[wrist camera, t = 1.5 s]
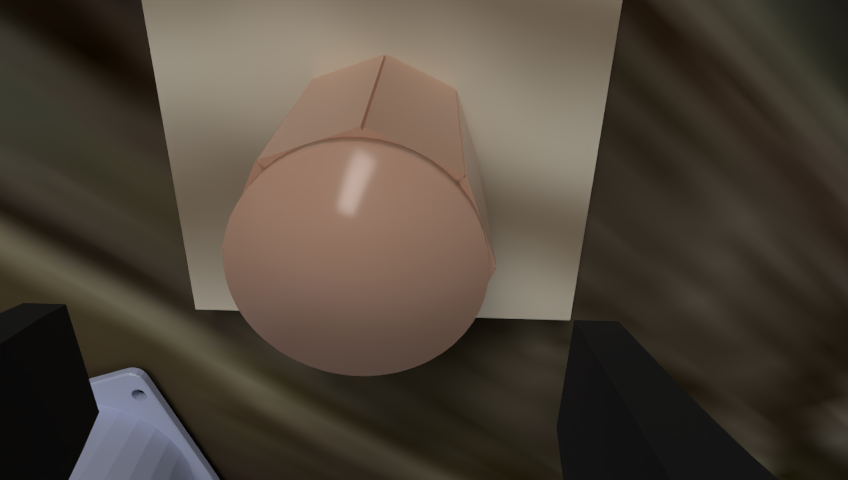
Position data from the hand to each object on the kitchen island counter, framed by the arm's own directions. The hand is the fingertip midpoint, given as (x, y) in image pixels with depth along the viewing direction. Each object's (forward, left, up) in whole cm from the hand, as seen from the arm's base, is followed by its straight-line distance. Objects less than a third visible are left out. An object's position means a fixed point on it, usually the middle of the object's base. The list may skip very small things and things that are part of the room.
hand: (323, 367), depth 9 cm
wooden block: (0, 0, -10) cm, 10 cm away
